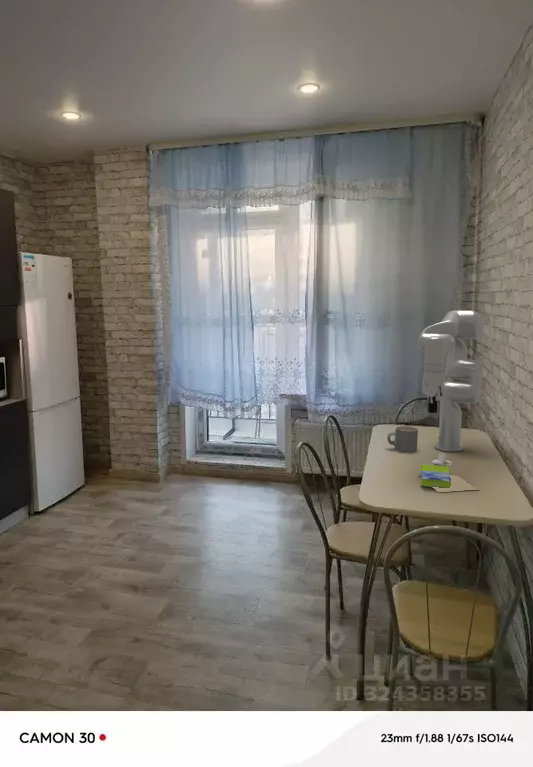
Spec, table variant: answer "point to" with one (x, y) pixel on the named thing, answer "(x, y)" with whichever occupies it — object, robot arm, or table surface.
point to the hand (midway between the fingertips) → (432, 412)
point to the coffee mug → (404, 439)
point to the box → (435, 476)
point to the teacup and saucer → (441, 459)
